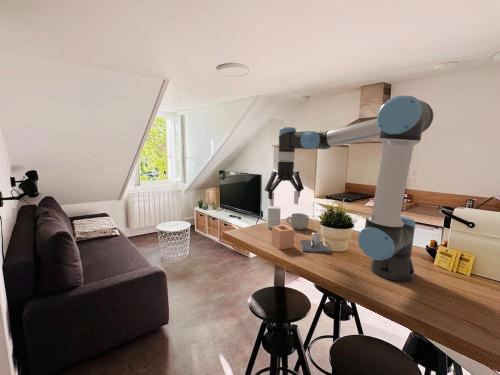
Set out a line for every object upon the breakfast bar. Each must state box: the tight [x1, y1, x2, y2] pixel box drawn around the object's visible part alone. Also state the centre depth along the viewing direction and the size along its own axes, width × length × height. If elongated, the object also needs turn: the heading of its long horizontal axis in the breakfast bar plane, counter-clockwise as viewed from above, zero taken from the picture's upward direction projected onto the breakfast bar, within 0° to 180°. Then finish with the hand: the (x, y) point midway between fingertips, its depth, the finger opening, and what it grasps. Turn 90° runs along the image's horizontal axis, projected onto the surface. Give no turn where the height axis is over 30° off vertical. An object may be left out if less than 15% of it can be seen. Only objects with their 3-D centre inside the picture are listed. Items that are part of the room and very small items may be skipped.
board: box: [300, 231, 332, 254], centre depth 125 cm, size 12×13×7 cm
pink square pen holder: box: [270, 224, 295, 250], centre depth 126 cm, size 8×8×9 cm
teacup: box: [285, 212, 310, 231], centre depth 154 cm, size 14×11×8 cm
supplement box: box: [267, 205, 281, 230], centre depth 155 cm, size 7×7×13 cm
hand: (283, 205), depth 124 cm, fingers open, 13 cm apart
